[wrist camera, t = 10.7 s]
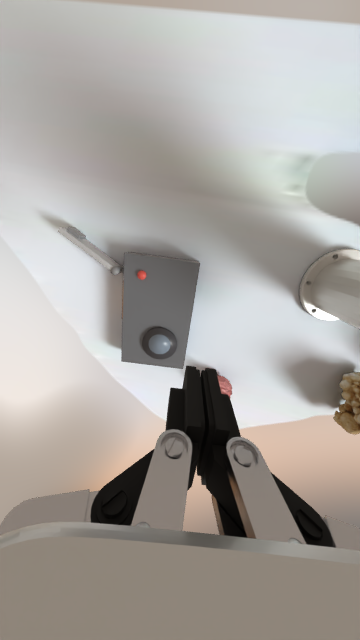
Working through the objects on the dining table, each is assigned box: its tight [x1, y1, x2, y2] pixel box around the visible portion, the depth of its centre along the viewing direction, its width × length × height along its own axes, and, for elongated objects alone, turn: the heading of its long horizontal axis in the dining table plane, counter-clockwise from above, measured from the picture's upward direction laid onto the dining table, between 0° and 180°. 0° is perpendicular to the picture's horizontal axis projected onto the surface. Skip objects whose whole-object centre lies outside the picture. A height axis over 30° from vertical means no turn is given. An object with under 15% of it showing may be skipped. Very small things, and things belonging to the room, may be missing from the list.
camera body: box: [121, 252, 200, 369], centre depth 36 cm, size 12×20×4 cm, turn 173°
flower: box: [217, 375, 232, 397], centre depth 41 cm, size 8×8×6 cm
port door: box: [58, 227, 124, 275], centre depth 33 cm, size 2×11×4 cm, turn 51°
